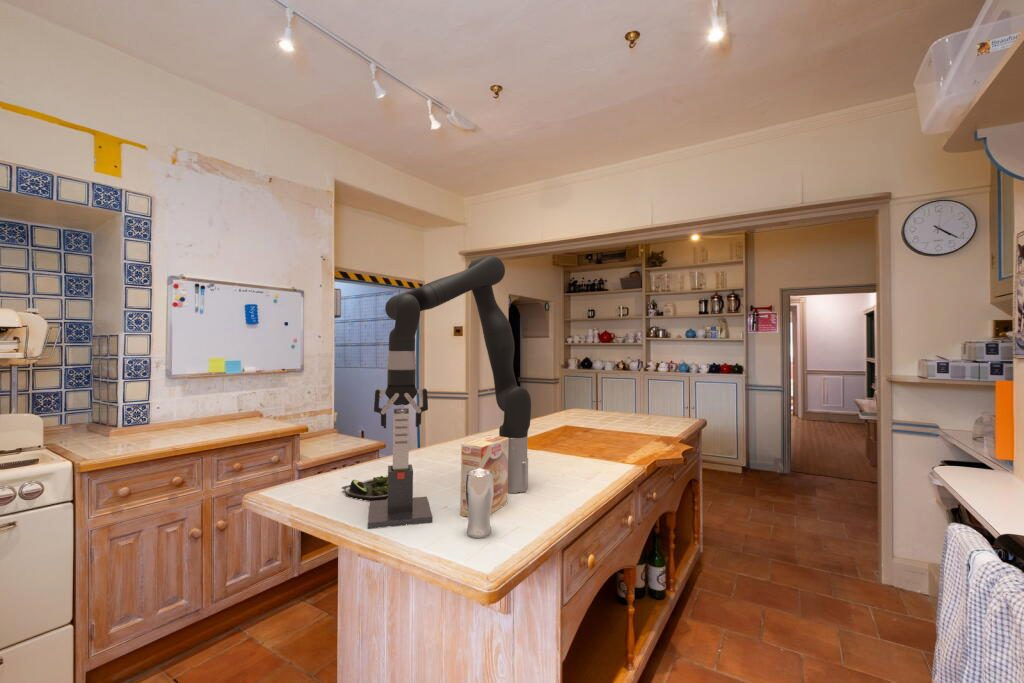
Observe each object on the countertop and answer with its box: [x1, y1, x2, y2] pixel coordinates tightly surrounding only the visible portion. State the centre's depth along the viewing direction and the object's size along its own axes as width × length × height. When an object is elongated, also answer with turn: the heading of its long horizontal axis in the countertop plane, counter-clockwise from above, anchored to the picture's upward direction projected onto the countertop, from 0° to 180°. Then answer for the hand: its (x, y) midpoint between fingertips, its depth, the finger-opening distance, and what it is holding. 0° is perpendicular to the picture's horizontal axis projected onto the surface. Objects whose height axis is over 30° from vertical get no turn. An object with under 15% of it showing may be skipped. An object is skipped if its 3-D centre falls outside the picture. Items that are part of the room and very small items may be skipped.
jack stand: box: [367, 463, 433, 529], centre depth 121 cm, size 16×16×12 cm
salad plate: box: [341, 474, 388, 502], centre depth 141 cm, size 19×18×5 cm
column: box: [392, 407, 410, 471], centre depth 121 cm, size 4×4×21 cm
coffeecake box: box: [459, 434, 509, 518], centre depth 126 cm, size 15×7×20 cm, turn 151°
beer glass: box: [465, 469, 494, 539], centre depth 110 cm, size 7×7×15 cm
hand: (400, 427), depth 122 cm, fingers open, 8 cm apart
